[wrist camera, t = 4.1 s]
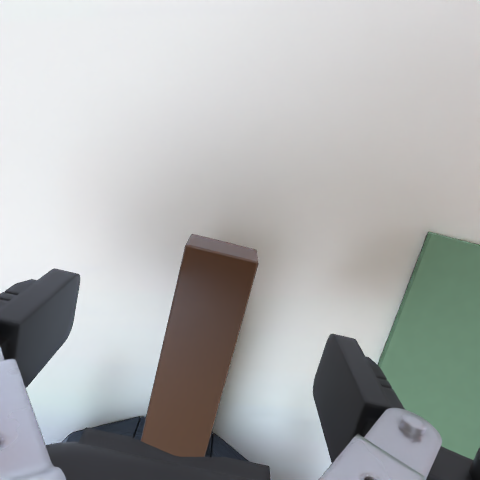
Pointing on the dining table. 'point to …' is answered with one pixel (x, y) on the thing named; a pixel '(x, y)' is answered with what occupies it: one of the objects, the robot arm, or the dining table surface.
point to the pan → (195, 352)
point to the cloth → (440, 343)
